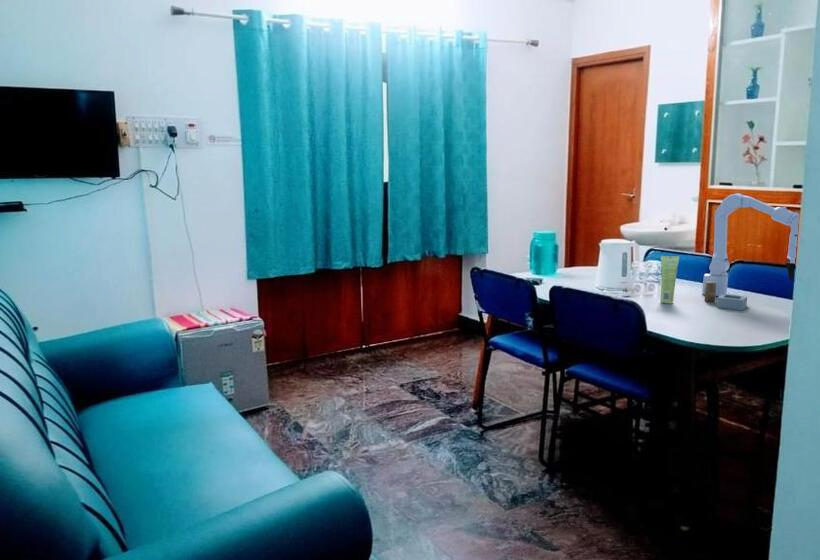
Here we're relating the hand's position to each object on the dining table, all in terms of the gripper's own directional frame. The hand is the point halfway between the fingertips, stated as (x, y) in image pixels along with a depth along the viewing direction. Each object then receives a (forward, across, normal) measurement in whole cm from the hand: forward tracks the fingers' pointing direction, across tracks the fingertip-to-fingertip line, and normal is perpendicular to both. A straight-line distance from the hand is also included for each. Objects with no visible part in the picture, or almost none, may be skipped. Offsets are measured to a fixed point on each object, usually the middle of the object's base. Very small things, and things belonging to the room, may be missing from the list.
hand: (793, 278), depth 258 cm
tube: (+10, -28, +41) cm, 51 cm away
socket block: (+10, -21, +18) cm, 29 cm away
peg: (+10, -16, +28) cm, 33 cm away
